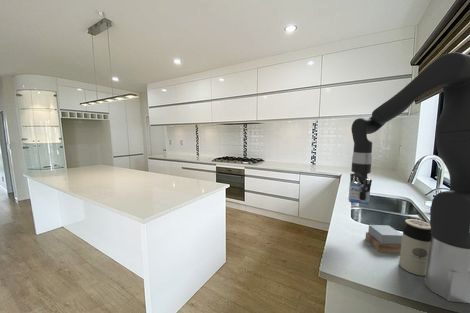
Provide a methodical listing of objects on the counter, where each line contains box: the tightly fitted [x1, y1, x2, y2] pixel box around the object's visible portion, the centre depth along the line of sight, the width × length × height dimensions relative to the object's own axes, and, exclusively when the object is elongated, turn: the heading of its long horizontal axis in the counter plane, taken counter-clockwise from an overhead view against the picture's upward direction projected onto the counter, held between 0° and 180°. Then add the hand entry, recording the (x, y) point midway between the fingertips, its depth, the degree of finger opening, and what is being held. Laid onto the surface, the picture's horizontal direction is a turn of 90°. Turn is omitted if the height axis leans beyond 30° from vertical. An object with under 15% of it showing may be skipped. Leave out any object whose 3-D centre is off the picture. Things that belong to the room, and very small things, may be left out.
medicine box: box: [348, 182, 371, 205], centre depth 91 cm, size 8×4×9 cm, turn 63°
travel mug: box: [398, 218, 432, 276], centre depth 72 cm, size 8×8×18 cm
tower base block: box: [365, 231, 401, 254], centre depth 88 cm, size 10×10×4 cm
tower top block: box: [367, 224, 403, 244], centre depth 87 cm, size 9×9×4 cm
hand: (358, 197), depth 91 cm, fingers closed on medicine box, 5 cm apart
